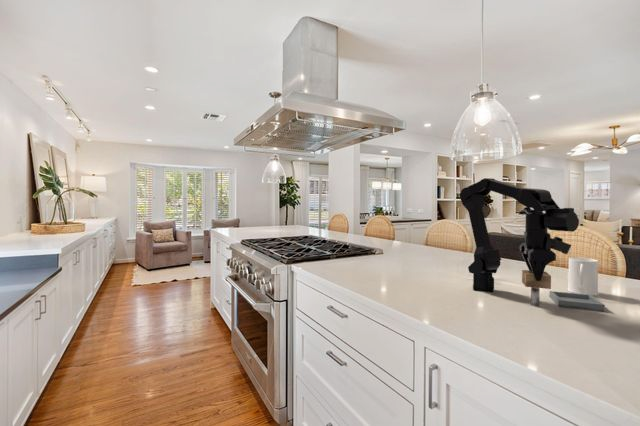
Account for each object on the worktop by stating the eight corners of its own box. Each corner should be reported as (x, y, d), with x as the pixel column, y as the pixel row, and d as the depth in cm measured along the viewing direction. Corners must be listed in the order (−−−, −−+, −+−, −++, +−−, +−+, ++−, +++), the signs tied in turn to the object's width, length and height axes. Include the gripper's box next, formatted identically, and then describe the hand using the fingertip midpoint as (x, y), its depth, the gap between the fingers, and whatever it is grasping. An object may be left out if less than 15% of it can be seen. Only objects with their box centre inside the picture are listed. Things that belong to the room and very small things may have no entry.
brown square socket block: (525, 286, 95) (525, 274, 95) (522, 281, 101) (522, 270, 101) (550, 288, 93) (551, 275, 93) (545, 283, 98) (545, 271, 98)
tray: (558, 306, 96) (558, 300, 96) (549, 296, 106) (549, 290, 106) (604, 311, 91) (604, 304, 91) (590, 300, 101) (590, 294, 101)
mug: (594, 299, 103) (595, 263, 102) (562, 293, 109) (563, 260, 109) (600, 292, 110) (601, 259, 110) (570, 287, 117) (570, 256, 116)
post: (531, 305, 97) (531, 288, 96) (530, 303, 99) (530, 286, 98) (540, 306, 96) (540, 289, 96) (538, 304, 98) (538, 287, 98)
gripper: (579, 232, 85) (578, 288, 85) (559, 227, 101) (558, 274, 102) (530, 231, 89) (530, 284, 90) (519, 226, 106) (519, 271, 107)
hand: (535, 278), depth 97 cm, fingers closed on brown square socket block, 6 cm apart
